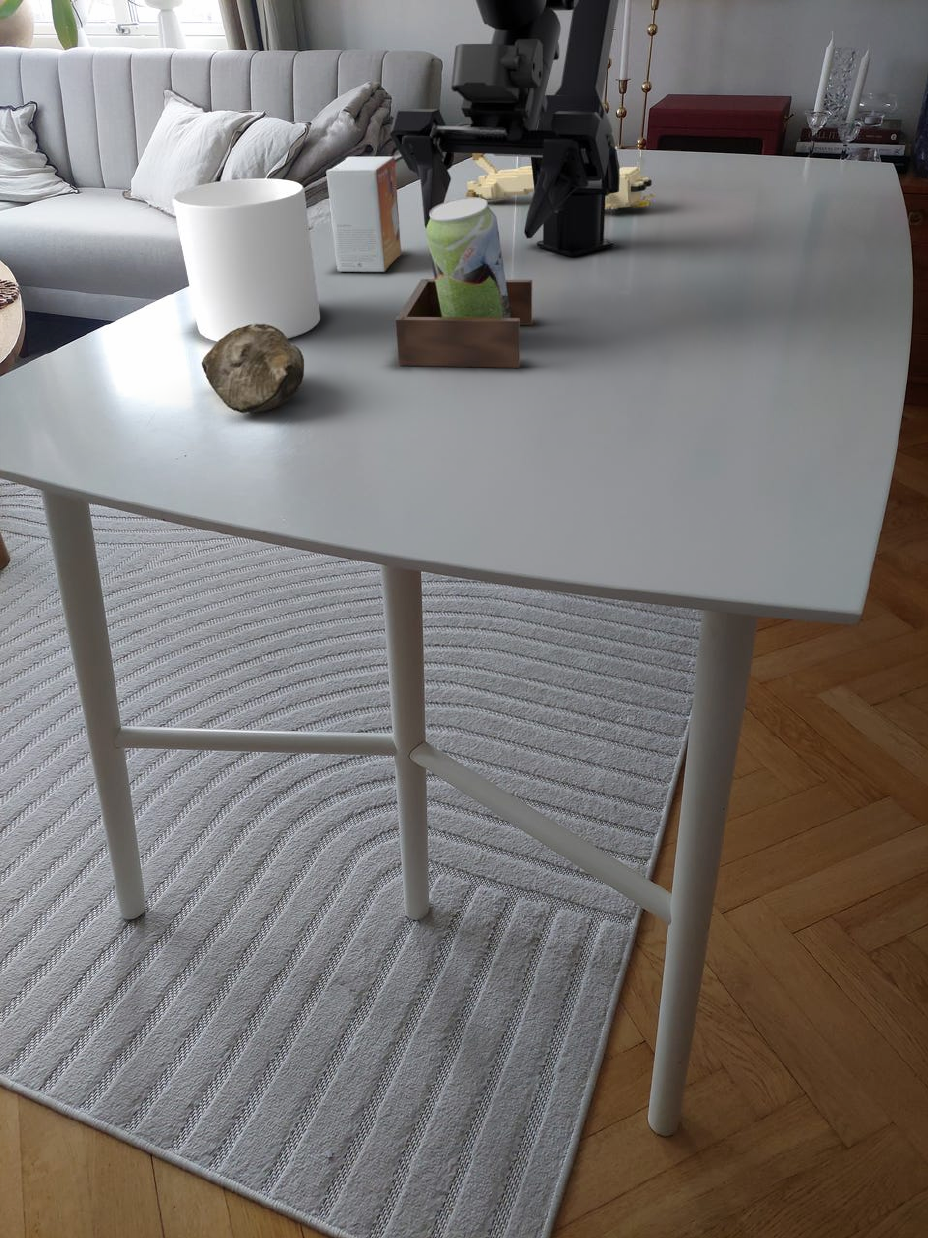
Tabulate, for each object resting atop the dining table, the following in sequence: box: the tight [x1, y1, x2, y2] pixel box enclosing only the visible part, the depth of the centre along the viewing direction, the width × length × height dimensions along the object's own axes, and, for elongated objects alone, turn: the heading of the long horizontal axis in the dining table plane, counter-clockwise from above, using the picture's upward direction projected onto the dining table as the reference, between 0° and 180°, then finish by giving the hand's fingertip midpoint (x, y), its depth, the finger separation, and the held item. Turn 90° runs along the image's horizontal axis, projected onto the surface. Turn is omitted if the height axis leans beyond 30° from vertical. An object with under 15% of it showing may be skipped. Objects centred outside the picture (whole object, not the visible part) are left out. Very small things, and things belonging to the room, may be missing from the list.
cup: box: [172, 177, 321, 343], centre depth 90 cm, size 12×12×12 cm
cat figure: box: [465, 153, 656, 210], centre depth 126 cm, size 10×9×25 cm
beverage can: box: [425, 197, 511, 318], centre depth 83 cm, size 6×7×12 cm
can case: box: [395, 278, 533, 369], centre depth 86 cm, size 10×12×4 cm
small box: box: [325, 156, 402, 273], centre depth 106 cm, size 8×6×10 cm
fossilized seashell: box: [201, 324, 305, 414], centre depth 77 cm, size 8×7×10 cm
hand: (477, 232), depth 83 cm, fingers open, 9 cm apart
